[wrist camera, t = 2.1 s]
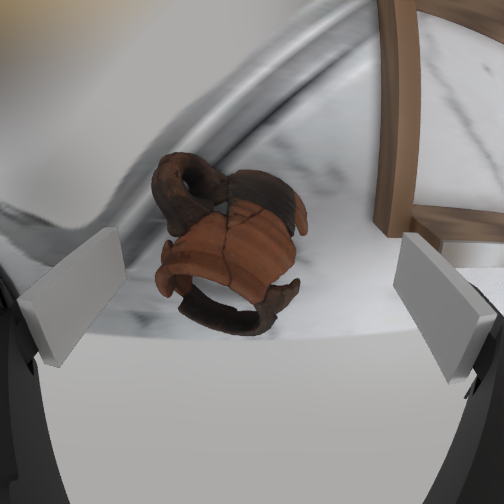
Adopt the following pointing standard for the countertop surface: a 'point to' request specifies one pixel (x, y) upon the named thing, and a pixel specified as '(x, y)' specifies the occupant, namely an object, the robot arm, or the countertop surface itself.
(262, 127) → the countertop surface
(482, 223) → the wooden stand
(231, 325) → the pottery mug
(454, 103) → the countertop surface
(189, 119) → the countertop surface
